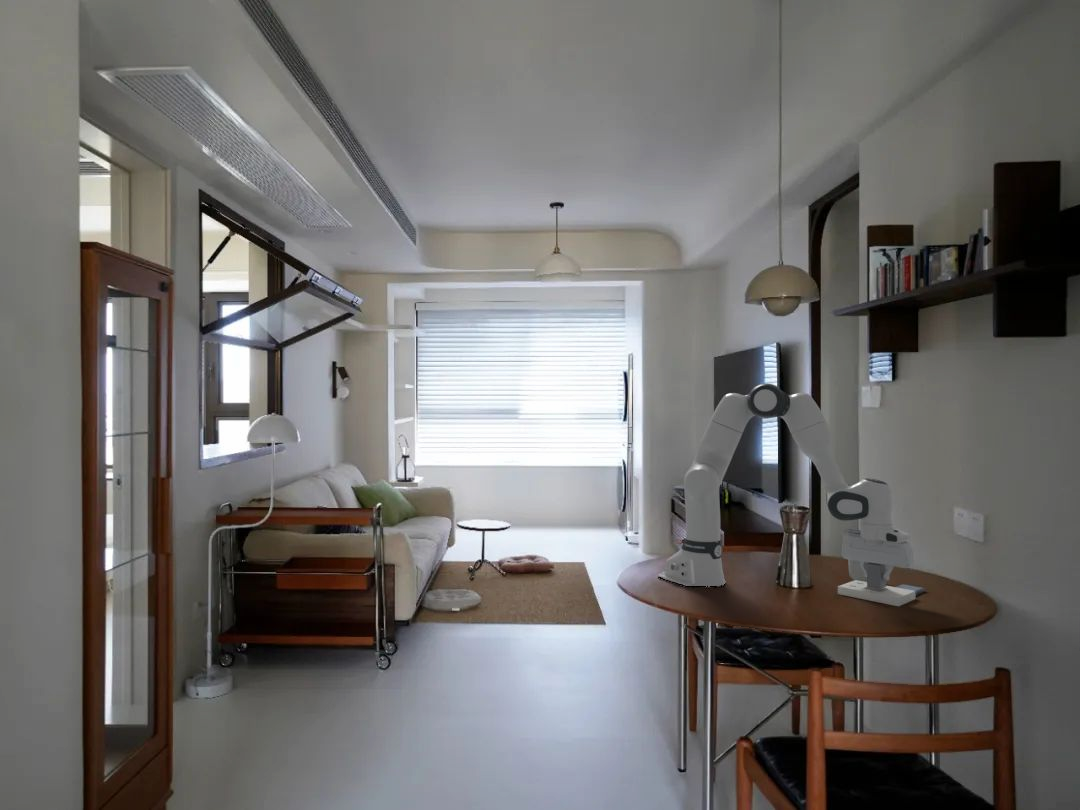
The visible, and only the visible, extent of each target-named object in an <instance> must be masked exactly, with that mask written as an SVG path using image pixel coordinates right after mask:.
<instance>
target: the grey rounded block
mask: <svg viewBox="0 0 1080 810" xmlns="http://www.w3.org/2000/svg"><path fill="white" fill-rule="evenodd" d="M847 560H848V562H847V563H848V572H849V573H848V574H849V577H850V578H851V579H852V581H854V580H858V581H864V582H867V577H865V576H864V571H863V569H862V567H861V566H860V561H856V560H850V559H847ZM867 563H869V562H867ZM866 566H867V564H866Z"/></svg>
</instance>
